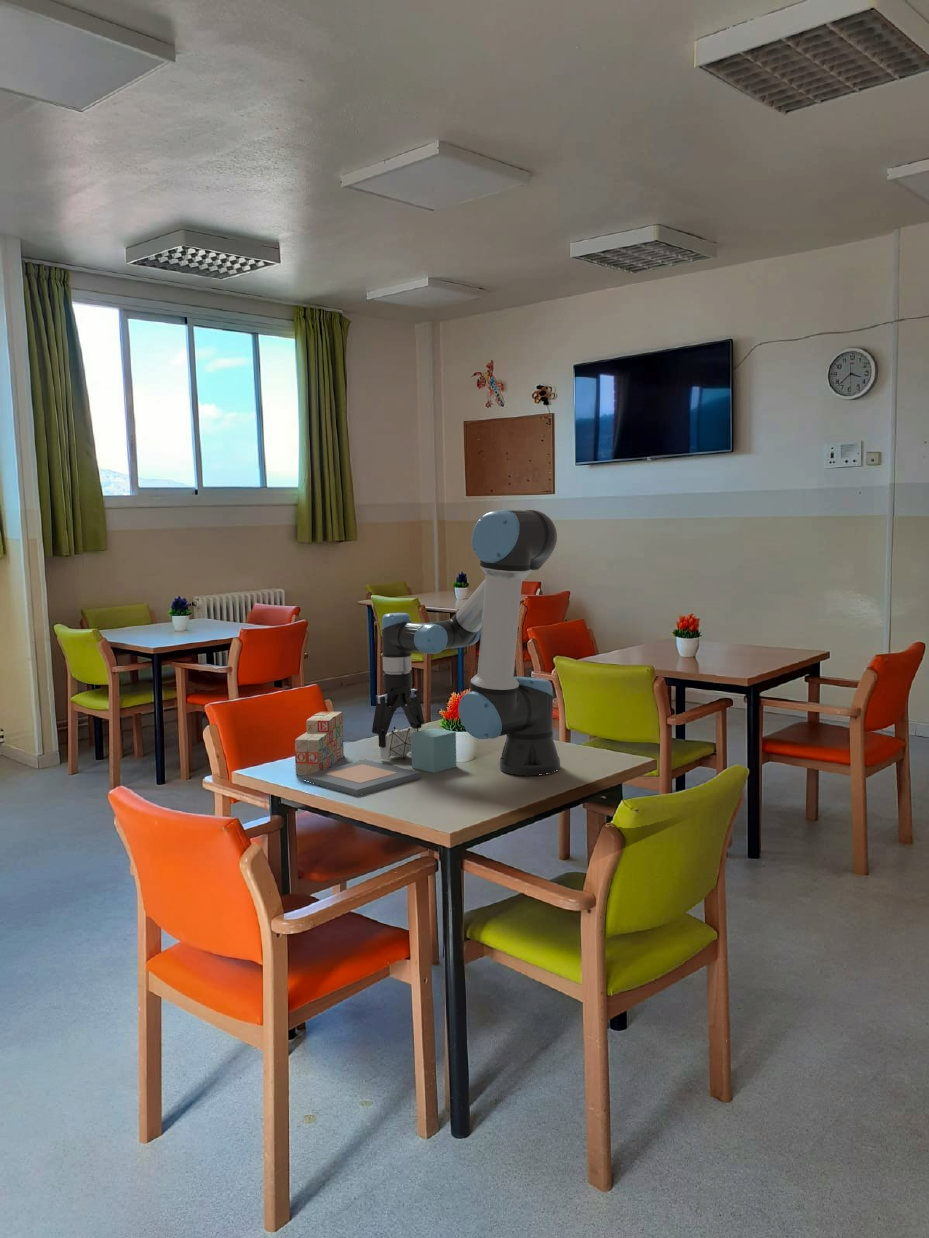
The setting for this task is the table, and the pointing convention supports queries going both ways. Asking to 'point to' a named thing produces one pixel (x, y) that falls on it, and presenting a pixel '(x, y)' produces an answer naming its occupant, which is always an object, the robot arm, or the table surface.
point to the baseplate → (361, 777)
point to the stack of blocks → (320, 743)
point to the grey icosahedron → (399, 742)
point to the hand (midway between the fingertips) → (399, 755)
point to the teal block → (433, 749)
